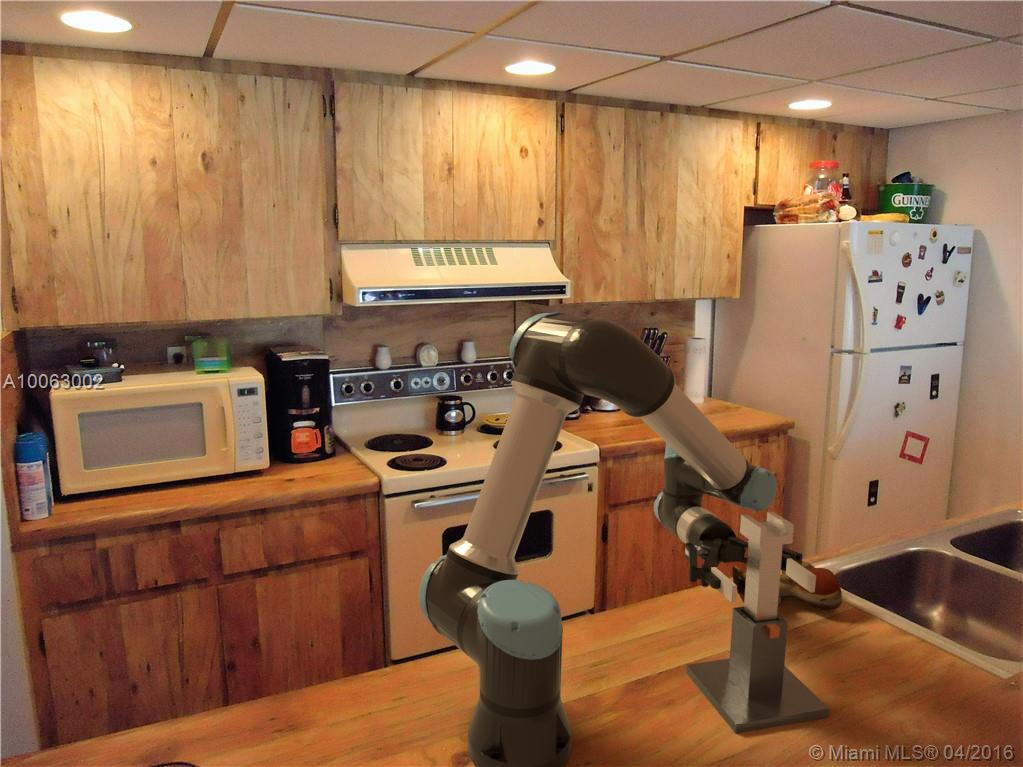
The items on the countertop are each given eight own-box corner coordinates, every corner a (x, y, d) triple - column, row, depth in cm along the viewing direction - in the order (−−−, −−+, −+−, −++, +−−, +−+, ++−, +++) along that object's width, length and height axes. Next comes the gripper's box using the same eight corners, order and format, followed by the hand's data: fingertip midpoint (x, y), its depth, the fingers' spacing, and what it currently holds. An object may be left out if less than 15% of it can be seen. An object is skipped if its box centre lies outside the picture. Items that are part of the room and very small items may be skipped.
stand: (735, 733, 111) (741, 648, 108) (686, 672, 127) (690, 596, 124) (828, 717, 115) (836, 634, 112) (769, 660, 130) (775, 586, 127)
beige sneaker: (723, 557, 153) (809, 542, 157) (721, 596, 155) (806, 580, 159) (763, 594, 139) (856, 576, 143) (761, 636, 141) (853, 617, 145)
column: (748, 695, 117) (760, 528, 111) (730, 675, 122) (741, 514, 117) (780, 690, 118) (794, 524, 113) (760, 670, 124) (772, 511, 118)
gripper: (766, 547, 138) (842, 602, 117) (641, 561, 132) (698, 621, 112) (769, 509, 136) (847, 557, 116) (642, 521, 130) (701, 575, 110)
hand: (774, 589), depth 114 cm, fingers open, 13 cm apart
